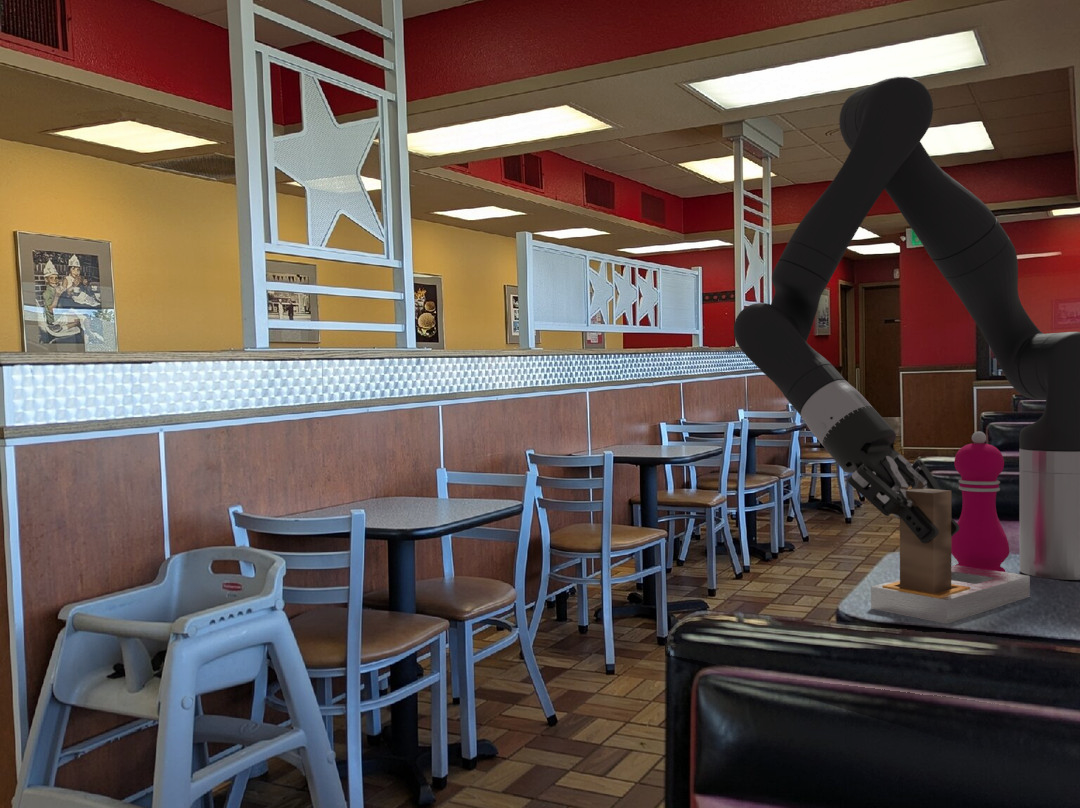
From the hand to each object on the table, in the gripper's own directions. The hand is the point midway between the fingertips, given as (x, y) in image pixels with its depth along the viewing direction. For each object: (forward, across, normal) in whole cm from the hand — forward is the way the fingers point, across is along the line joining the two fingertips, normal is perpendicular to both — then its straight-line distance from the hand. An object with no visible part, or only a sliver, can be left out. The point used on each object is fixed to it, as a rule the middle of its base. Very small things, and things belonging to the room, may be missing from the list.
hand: (942, 535), depth 103 cm
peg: (+4, 0, +6) cm, 7 cm away
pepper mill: (+2, +23, +12) cm, 26 cm away
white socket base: (+5, +6, +8) cm, 11 cm away
